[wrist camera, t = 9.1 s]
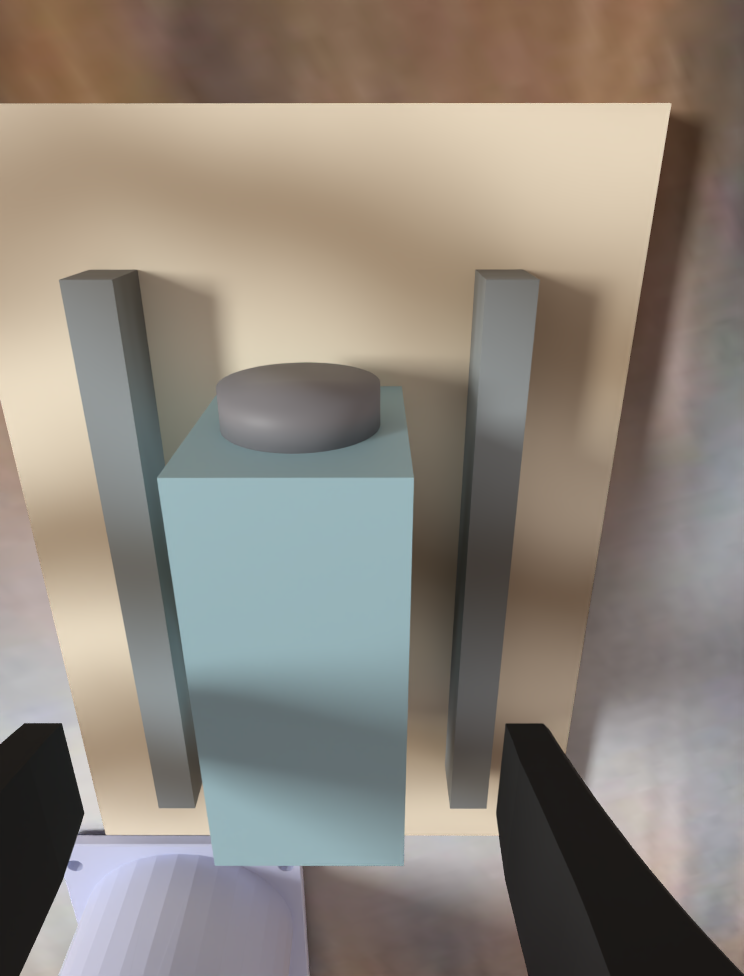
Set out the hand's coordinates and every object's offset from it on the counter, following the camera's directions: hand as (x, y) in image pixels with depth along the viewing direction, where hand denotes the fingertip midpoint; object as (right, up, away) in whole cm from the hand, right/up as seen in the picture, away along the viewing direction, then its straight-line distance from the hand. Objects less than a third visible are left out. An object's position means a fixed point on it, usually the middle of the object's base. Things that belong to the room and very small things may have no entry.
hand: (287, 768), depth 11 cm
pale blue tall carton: (0, +3, +6) cm, 7 cm away
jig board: (0, +3, +7) cm, 8 cm away
